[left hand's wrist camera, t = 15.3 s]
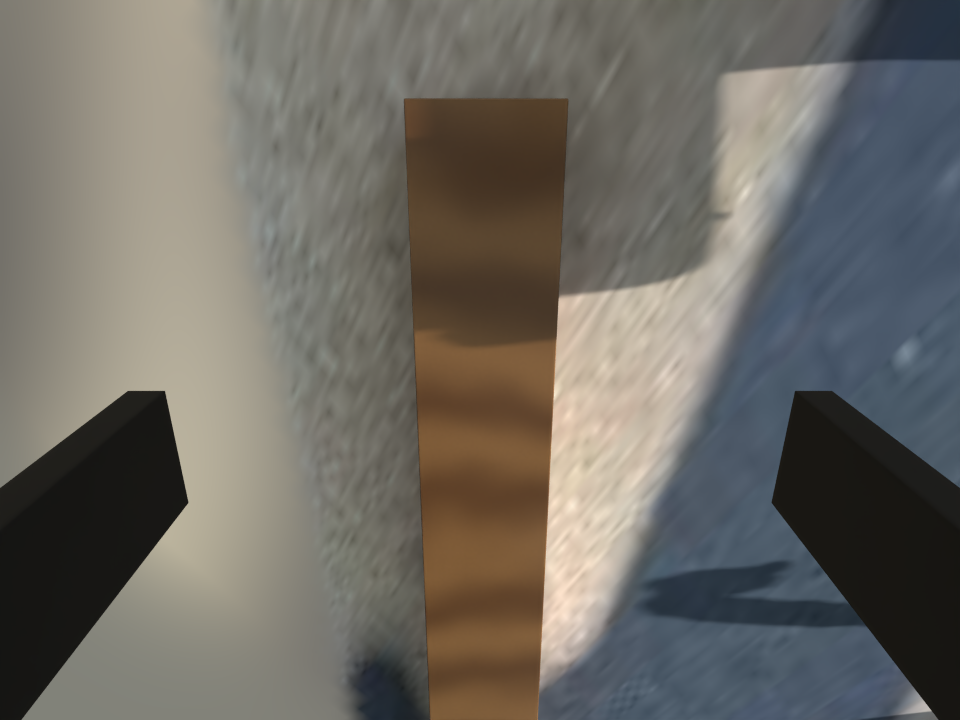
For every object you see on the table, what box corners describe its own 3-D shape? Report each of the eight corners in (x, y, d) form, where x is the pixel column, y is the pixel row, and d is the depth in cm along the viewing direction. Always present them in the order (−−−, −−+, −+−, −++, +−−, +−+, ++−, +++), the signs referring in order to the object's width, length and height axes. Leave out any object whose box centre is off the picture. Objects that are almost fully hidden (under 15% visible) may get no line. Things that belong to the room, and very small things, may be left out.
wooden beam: (415, 102, 40) (403, 98, 33) (554, 102, 40) (568, 98, 33) (440, 808, 66) (436, 880, 59) (524, 808, 66) (529, 880, 59)
